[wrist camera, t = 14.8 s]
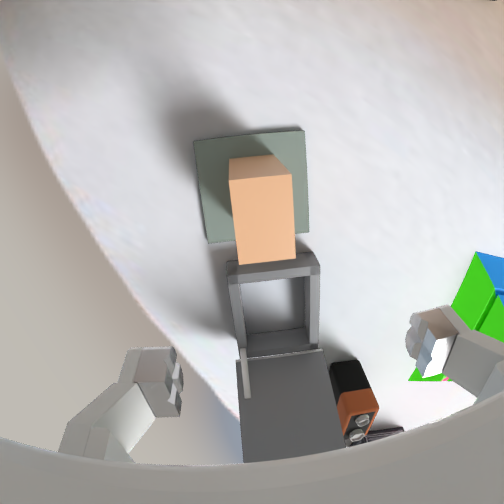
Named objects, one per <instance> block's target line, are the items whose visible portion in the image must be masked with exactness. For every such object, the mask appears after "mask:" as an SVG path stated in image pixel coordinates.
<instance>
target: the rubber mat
mask: <svg viewBox="0 0 504 504" xmlns="http://www.w3.org/2000/svg"><path fill="white" fill-rule="evenodd" d="M193 143H194V150H195V158H196V165H197V172H198V179H199V186H200V193H201V199H202V206H203V213H204V219H205V225H206V232H207V238H208V244H209V243H218V242H226V241H235V240H236V237H235V229H234V221H233V213H232V205H231V196H230V188H229V159H232V158H241V157H251V156H261V155H272V154H274V155H275V157H276V158H277V159H278V160H279V161H280V162H281V163H282V164H283V165H284V166H285V167H286V169H287V170H288V171H289V172H290V173H291V174H292V188H293V207H294V227H295V234H298V233H308V232H309V207H308V183H307V162H306V145H305V131H303V130H301V131H285V132H271V133H259V134H249V135H239V136H230V137H221V138H213V139H206V140H199V141H194V142H193Z"/></svg>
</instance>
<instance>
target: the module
mask: <svg viewBox="0 0 504 504" xmlns="http://www.w3.org/2000/svg"><path fill="white" fill-rule="evenodd" d="M229 188H230V196H231V205H232V213H233V221H234V229H235V237H236V245H237V253H238V261H239V265H243V264H252V263H261V262H269V261H278V260H287V259H295V258H296V251H295V227H294V207H293V188H292V174H291V173H290V172H289V171H288V170H287V169H286V167H285V166H284V165H283V164H282V163H281V162H280V161H279V160H278V159H277V158H276V157H275V155H274V154H272V155H261V156H251V157H241V158H232V159H229Z"/></svg>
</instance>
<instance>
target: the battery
mask: <svg viewBox="0 0 504 504" xmlns="http://www.w3.org/2000/svg"><path fill="white" fill-rule="evenodd" d="M329 377H330V381H331V385H332V389H333V393H334V397H335V402H336V406H337V410H338V415H339V419H340V423H341V428H342V432H343V437H344V439H350V440H351V441H352V442H354V441H359V440H361V439H362V438H363V437H365V435H366V434H367V433H368V431H369V429H370V427H371V425H372V423H373V421H374V419H375V416H376V414H377V412H378V410H379V405H378V403H377V401H376V398H375V396H374V394H373V391H372V389H371V387H370V384H369V382H368V380H367V377H366V375H365V373H364V371H363V368H362V366H361V364H360V362H359V361H358V360H355V361H348V362H340V363H333V364H331V366H330V371H329Z"/></svg>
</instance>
